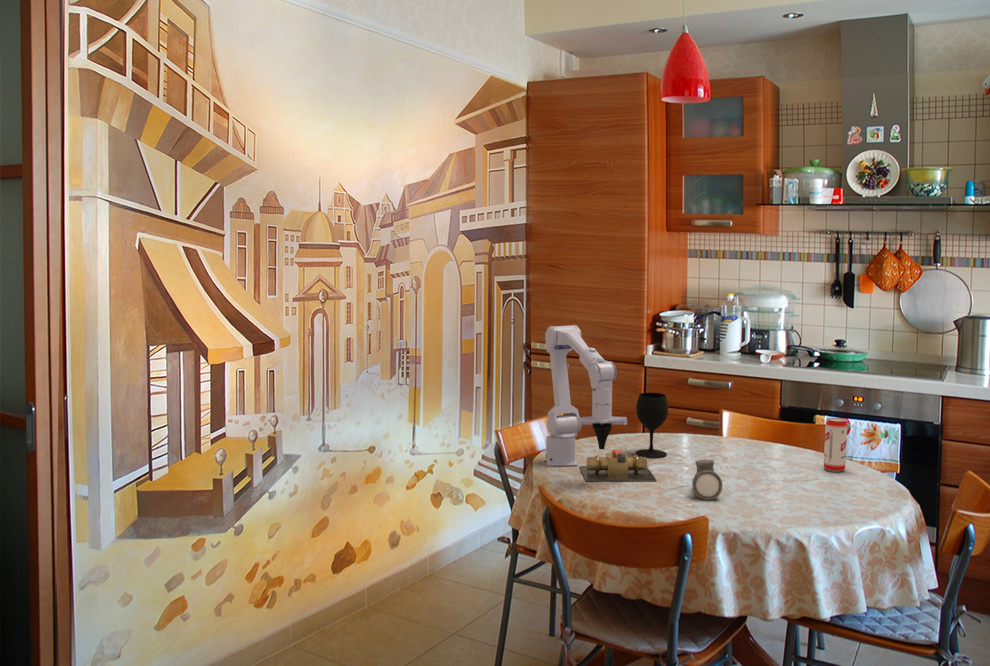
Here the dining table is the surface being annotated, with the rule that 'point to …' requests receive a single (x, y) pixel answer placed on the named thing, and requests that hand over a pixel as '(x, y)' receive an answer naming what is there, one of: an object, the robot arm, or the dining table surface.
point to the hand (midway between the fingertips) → (601, 448)
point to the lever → (619, 456)
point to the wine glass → (652, 419)
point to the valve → (616, 469)
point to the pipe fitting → (706, 480)
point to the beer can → (835, 444)
